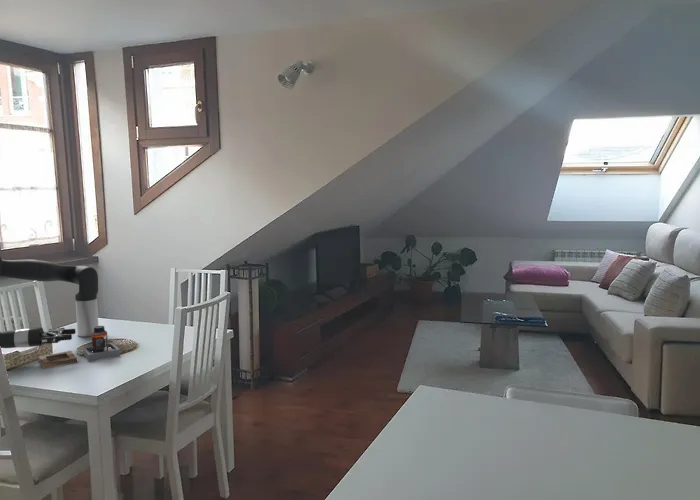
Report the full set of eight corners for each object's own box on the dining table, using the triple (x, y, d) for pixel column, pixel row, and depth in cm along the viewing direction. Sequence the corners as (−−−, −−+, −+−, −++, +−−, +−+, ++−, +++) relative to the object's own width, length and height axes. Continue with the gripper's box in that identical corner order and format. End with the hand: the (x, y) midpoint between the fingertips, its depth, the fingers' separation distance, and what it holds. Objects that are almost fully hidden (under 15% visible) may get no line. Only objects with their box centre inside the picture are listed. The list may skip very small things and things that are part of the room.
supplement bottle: (110, 352, 223) (109, 326, 221) (96, 355, 219) (94, 329, 217) (105, 349, 227) (103, 324, 226) (90, 352, 223) (89, 326, 221)
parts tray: (82, 354, 224) (82, 347, 224) (112, 348, 231) (112, 342, 231) (89, 361, 215) (88, 354, 214) (120, 355, 222) (119, 349, 222)
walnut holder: (38, 360, 216) (38, 356, 215) (71, 354, 223) (70, 350, 223) (43, 368, 206) (43, 364, 206) (77, 362, 214) (77, 358, 213)
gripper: (23, 333, 206) (69, 329, 211) (32, 324, 220) (75, 320, 225) (25, 351, 207) (71, 347, 212) (34, 341, 221) (77, 337, 226)
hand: (73, 333), depth 219 cm, fingers open, 8 cm apart
